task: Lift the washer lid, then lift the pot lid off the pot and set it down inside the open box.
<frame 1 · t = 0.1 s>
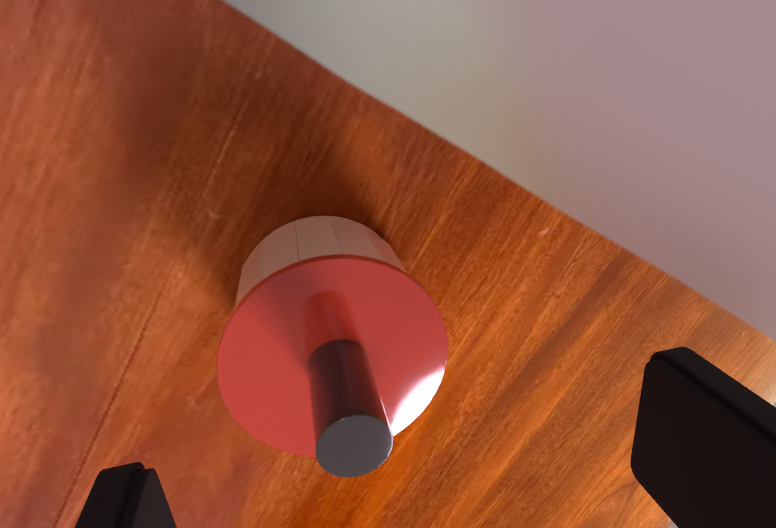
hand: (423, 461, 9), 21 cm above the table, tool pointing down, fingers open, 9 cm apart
pot lid: (336, 359, 24), point 7 cm above the table, touching pot
pot: (323, 294, 31), on the table
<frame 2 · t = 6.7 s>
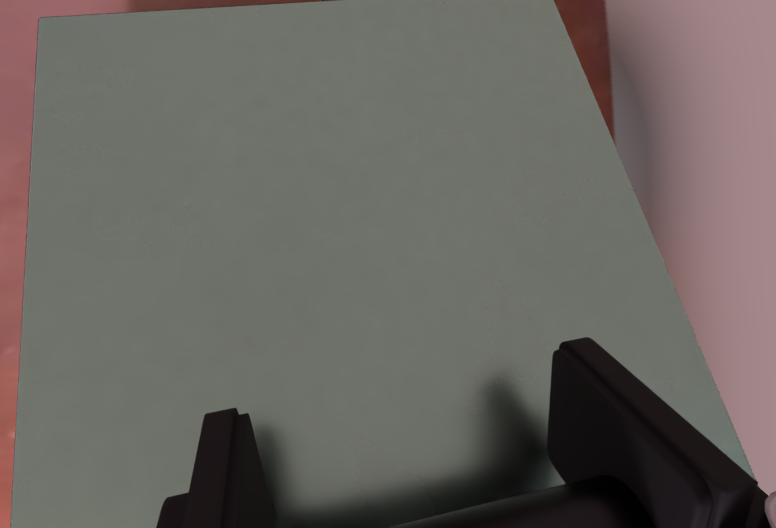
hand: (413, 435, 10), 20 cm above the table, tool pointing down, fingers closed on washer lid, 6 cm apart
washer lid: (371, 233, 11), point 17 cm above the table, hinge at 43.3°, touching gripper
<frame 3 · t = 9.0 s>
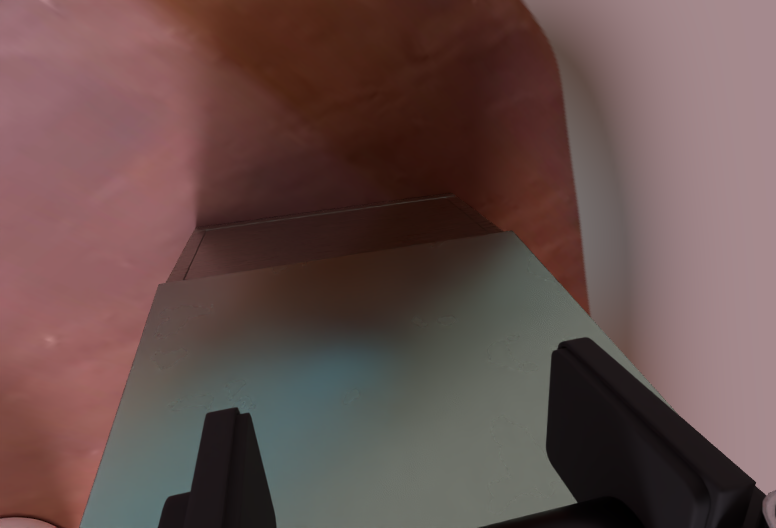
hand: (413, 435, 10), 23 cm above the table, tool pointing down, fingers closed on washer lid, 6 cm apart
open box: (344, 327, 35), on the table
washer lid: (382, 369, 14), point 19 cm above the table, hinge at 80.1°, touching gripper
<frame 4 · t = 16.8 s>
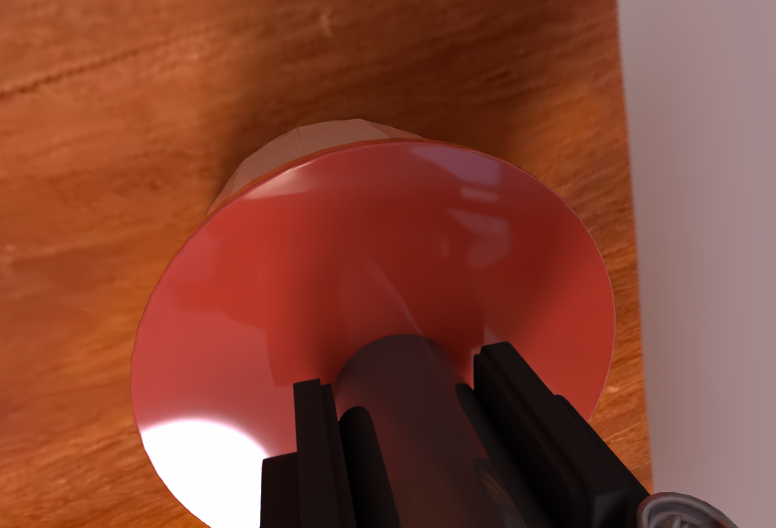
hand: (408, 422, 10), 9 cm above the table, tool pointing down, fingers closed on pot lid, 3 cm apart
pot lid: (391, 375, 12), point 8 cm above the table, touching gripper, pot
pot: (348, 261, 18), on the table
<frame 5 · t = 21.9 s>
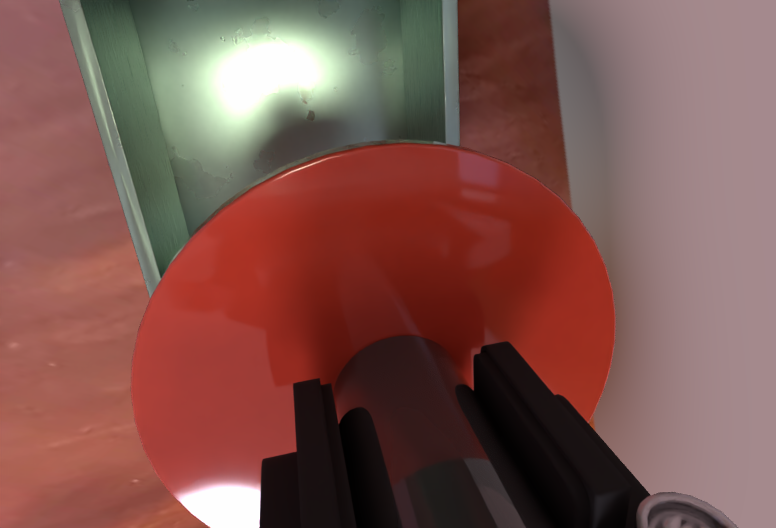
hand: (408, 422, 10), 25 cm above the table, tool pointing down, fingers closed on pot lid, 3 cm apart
pot lid: (391, 376, 12), point 23 cm above the table, touching gripper
open box: (290, 126, 31), on the table
when the fingers open (4 cm above the table, at t = 27.2 s): pot lid drops 1 cm, resting on open box.
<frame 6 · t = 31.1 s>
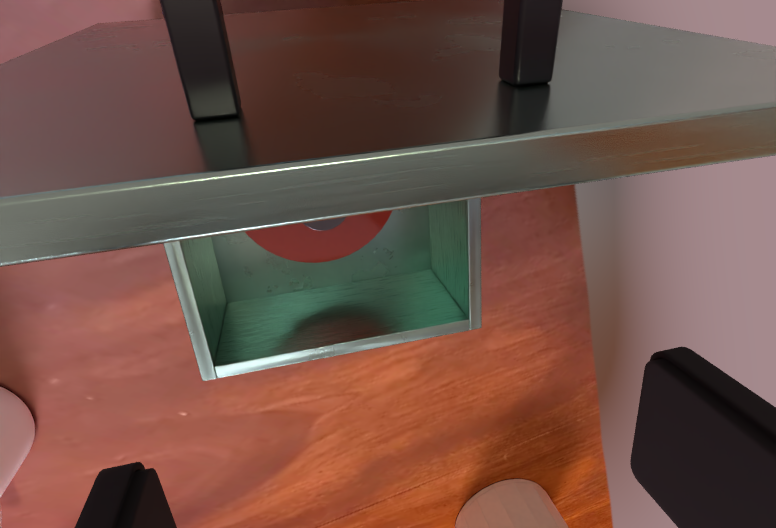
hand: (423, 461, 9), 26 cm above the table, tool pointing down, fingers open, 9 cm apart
pot lid: (314, 180, 32), point 1 cm above the table, touching open box
open box: (316, 174, 33), on the table
pot: (502, 517, 50), on the table
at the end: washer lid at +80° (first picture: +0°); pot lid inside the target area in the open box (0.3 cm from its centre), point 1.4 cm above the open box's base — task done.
